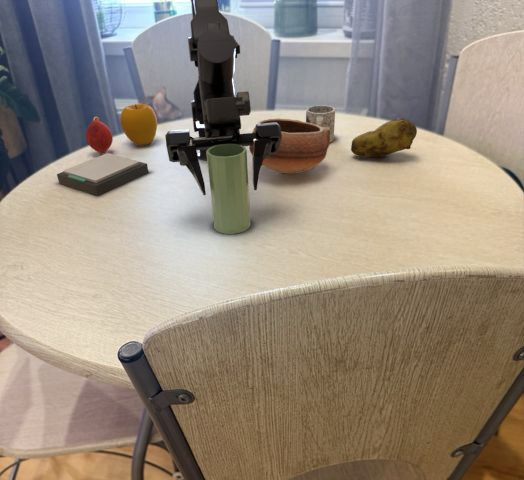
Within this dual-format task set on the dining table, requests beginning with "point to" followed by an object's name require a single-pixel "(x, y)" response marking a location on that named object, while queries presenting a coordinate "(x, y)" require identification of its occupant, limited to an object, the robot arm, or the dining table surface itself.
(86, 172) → the scale
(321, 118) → the mug
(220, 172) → the tumbler
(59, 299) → the dining table surface
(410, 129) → the potato
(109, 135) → the onion
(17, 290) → the dining table surface
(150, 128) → the apple
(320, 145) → the bowl
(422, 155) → the dining table surface
